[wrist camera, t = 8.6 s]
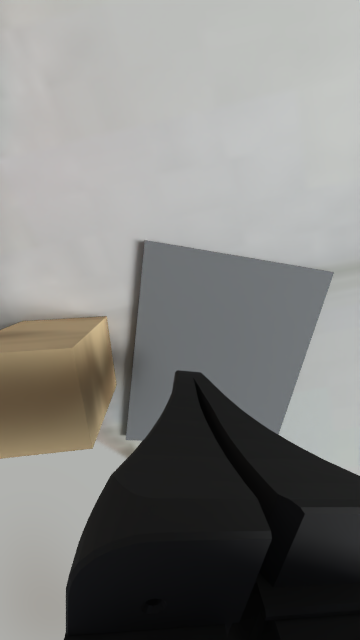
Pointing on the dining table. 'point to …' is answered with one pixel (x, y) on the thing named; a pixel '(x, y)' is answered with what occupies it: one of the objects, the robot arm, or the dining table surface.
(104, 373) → the oak block
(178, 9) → the dining table surface
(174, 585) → the robot arm
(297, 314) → the mat
